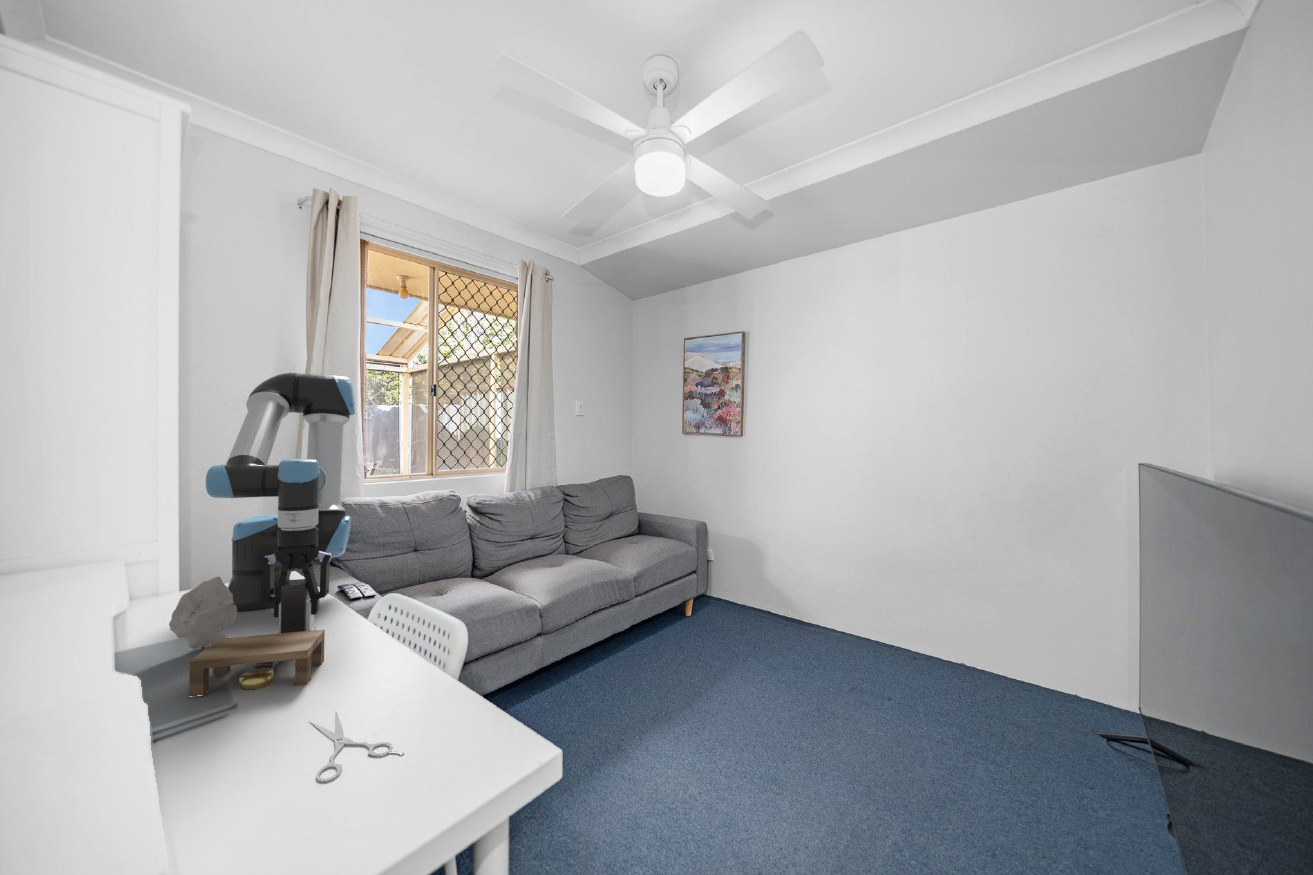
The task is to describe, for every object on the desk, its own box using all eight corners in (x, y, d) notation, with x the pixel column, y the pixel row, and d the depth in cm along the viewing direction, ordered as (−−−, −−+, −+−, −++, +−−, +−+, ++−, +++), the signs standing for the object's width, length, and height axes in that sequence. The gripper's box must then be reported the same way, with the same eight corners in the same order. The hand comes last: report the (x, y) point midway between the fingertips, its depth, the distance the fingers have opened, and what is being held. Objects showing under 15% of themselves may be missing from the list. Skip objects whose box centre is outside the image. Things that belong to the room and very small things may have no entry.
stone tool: (168, 658, 103) (169, 586, 103) (169, 652, 106) (169, 581, 105) (237, 643, 110) (238, 576, 110) (236, 638, 113) (237, 572, 113)
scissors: (323, 789, 67) (284, 726, 80) (323, 794, 68) (283, 731, 81) (404, 752, 76) (356, 701, 89) (404, 757, 76) (356, 705, 89)
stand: (218, 671, 98) (218, 638, 98) (324, 660, 104) (324, 629, 104) (189, 697, 89) (189, 661, 89) (307, 684, 94) (307, 650, 94)
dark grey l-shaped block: (288, 631, 115) (289, 579, 114) (311, 629, 116) (312, 578, 116) (249, 671, 96) (250, 609, 96) (276, 668, 97) (278, 607, 97)
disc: (246, 679, 96) (246, 669, 96) (277, 675, 97) (277, 665, 97) (234, 693, 91) (234, 682, 91) (267, 688, 93) (267, 678, 93)
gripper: (243, 532, 107) (241, 640, 107) (338, 529, 112) (336, 632, 112) (258, 525, 114) (257, 627, 114) (347, 523, 119) (345, 619, 120)
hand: (296, 629), depth 113 cm, fingers closed on dark grey l-shaped block, 4 cm apart
